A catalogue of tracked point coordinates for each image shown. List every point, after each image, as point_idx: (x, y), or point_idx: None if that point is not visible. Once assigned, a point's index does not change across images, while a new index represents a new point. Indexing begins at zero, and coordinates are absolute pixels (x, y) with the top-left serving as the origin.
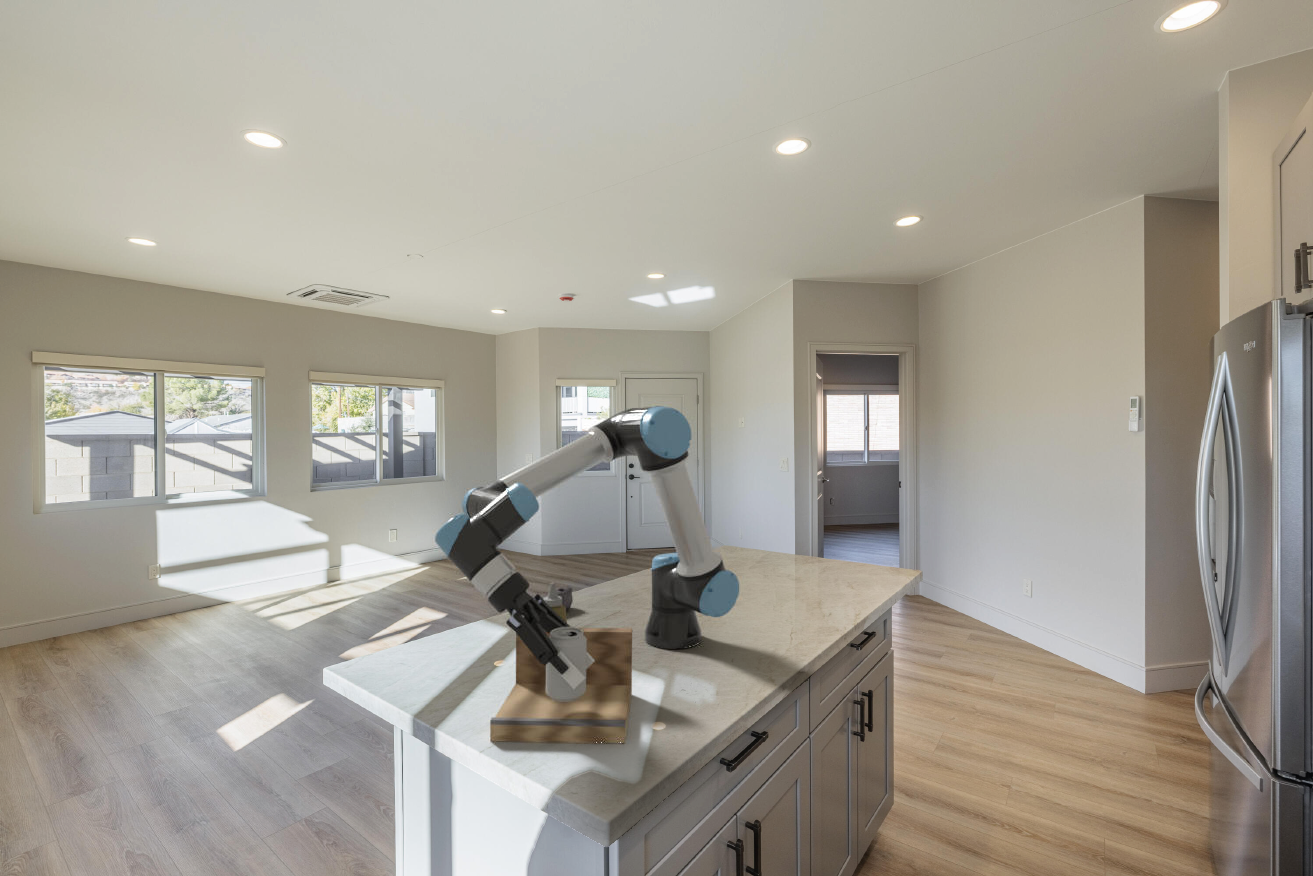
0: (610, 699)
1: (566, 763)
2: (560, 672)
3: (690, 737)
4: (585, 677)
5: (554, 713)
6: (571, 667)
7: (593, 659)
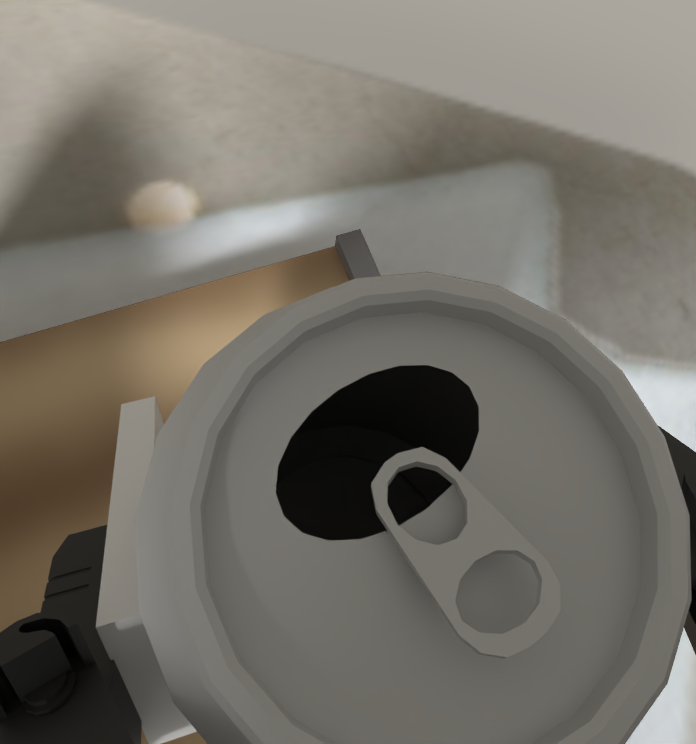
0: (113, 405)
1: None
2: None
3: (213, 87)
4: (323, 404)
5: None
6: None
7: (127, 409)
